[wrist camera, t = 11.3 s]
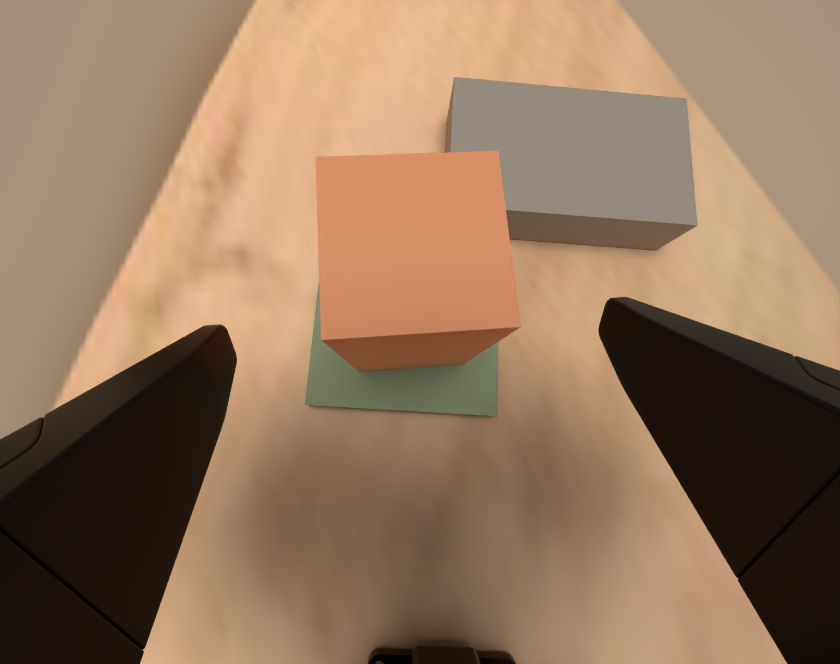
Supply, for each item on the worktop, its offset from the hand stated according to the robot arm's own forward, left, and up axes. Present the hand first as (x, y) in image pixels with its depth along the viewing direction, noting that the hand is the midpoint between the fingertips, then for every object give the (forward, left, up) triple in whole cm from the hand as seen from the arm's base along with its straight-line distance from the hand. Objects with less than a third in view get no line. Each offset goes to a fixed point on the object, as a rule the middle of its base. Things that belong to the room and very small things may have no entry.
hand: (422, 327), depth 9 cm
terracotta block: (+2, 0, -9) cm, 10 cm away
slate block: (+11, -7, -10) cm, 17 cm away
